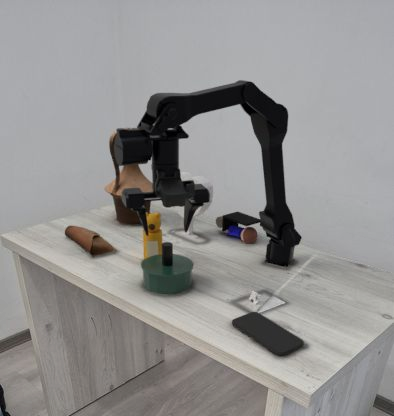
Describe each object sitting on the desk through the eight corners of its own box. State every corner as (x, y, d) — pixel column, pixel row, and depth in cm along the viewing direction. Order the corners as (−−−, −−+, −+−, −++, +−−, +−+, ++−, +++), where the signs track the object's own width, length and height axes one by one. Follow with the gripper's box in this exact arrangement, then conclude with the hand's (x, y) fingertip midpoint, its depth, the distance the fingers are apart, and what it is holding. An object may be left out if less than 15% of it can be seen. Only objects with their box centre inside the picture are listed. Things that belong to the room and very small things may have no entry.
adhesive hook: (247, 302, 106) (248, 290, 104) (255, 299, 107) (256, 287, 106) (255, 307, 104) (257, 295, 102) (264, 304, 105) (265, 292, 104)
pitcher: (135, 233, 142) (130, 134, 126) (95, 222, 149) (85, 127, 133) (169, 218, 154) (168, 126, 138) (130, 208, 161) (124, 120, 145)
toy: (144, 257, 126) (142, 209, 119) (162, 257, 126) (161, 209, 119) (143, 265, 122) (141, 215, 114) (162, 265, 122) (161, 216, 114)
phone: (280, 354, 88) (229, 320, 97) (279, 357, 88) (229, 323, 98) (306, 342, 91) (255, 310, 101) (305, 345, 92) (254, 313, 101)
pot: (199, 281, 115) (200, 263, 112) (174, 300, 106) (174, 280, 104) (161, 270, 119) (161, 253, 117) (134, 287, 111) (133, 268, 108)
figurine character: (214, 237, 144) (245, 247, 133) (213, 213, 140) (246, 221, 129) (230, 233, 147) (262, 242, 136) (230, 209, 143) (263, 217, 133)
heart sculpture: (212, 241, 137) (215, 179, 127) (201, 245, 134) (202, 182, 124) (177, 227, 146) (177, 168, 136) (165, 231, 143) (164, 171, 133)
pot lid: (203, 265, 112) (203, 241, 109) (175, 284, 103) (174, 259, 100) (160, 254, 118) (160, 230, 114) (130, 271, 109) (128, 246, 105)
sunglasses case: (118, 249, 129) (105, 232, 124) (100, 266, 128) (86, 249, 123) (90, 231, 141) (78, 214, 136) (73, 246, 140) (60, 230, 135)
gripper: (129, 173, 88) (133, 250, 97) (220, 168, 93) (216, 242, 102) (118, 160, 97) (123, 232, 106) (202, 156, 102) (200, 225, 111)
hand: (166, 233), depth 106 cm, fingers open, 9 cm apart
